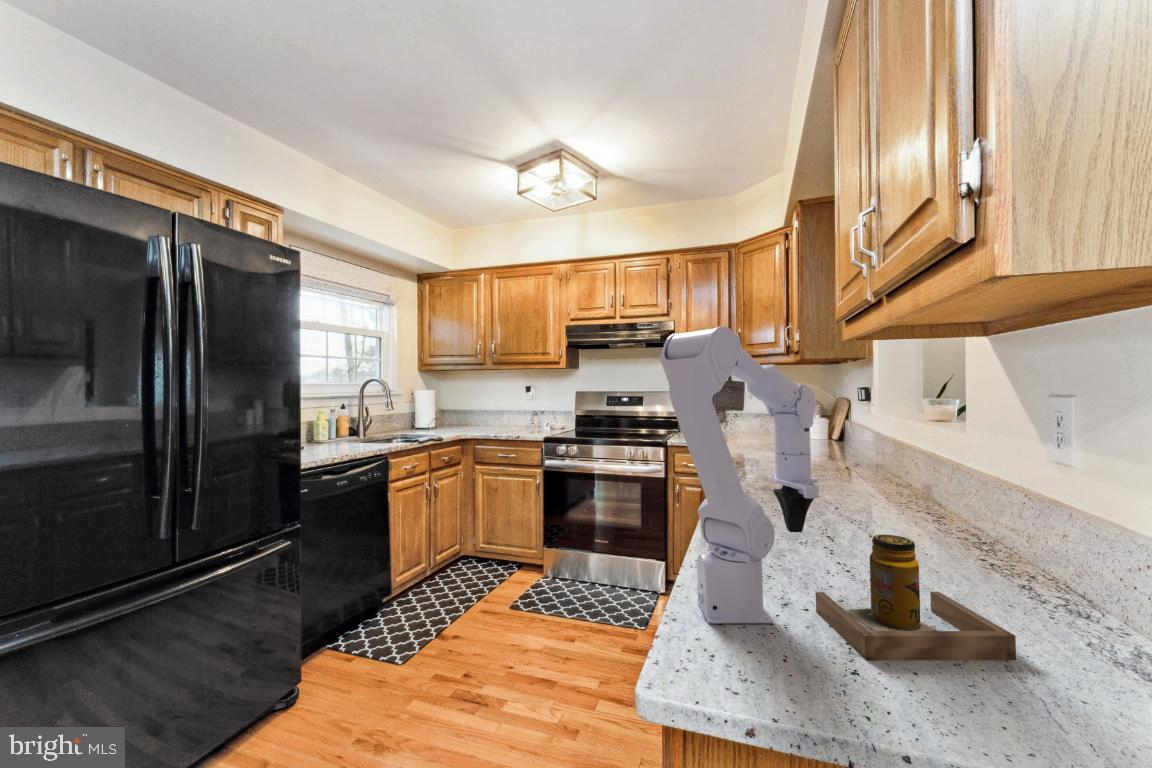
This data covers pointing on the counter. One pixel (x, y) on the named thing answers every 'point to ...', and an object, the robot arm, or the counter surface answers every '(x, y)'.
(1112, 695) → the counter surface
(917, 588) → the condiment
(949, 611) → the box
